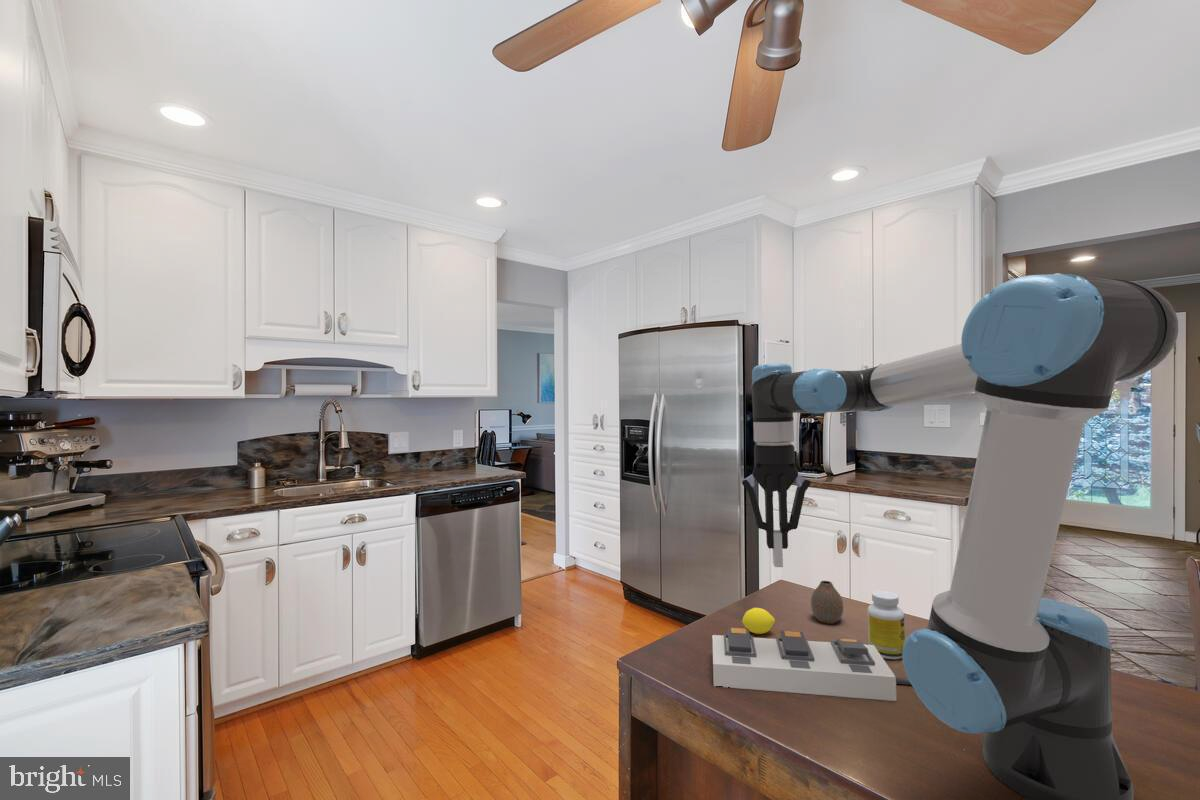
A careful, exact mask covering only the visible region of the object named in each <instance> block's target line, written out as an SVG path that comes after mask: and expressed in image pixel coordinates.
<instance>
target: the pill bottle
mask: <svg viewBox="0 0 1200 800" xmlns="http://www.w3.org/2000/svg"><path fill="white" fill-rule="evenodd" d="M871 600H872V602H873V603H872V604H870V605H869V606H868V607H867V634H868V636H867V637H868V640H867V641H868V644H867V645H874V646H875V648H876V649H877V651H878V652H879V653H880V655H881V656H882V658H883V659H887V660H900V659H903V658H902V650H903V645H904V642H905V640H906V639H905V637H906V636H905V614H904V611H903V610H902V608H901V607H899V606H898V605H899V595H898V594H896V593H894V592H891V591H886V590H874V591H872V592H871Z"/></svg>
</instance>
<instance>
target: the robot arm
mask: <svg viewBox="0 0 1200 800" xmlns="http://www.w3.org/2000/svg"><path fill="white" fill-rule="evenodd" d="M1178 335H1179V320H1178V316H1177V312H1176V311H1175V308H1174V307H1173V306H1172V304H1171V302H1170V301H1169V300H1168V299H1167V298H1166V297H1164V295H1162V294H1161V293H1160V292H1158V291H1157V290H1155V289H1154V288H1152V287H1150V286H1147V285H1145V284H1141V283H1139V282H1136V281H1130V280H1124V279H1109V278H1107V279H1106V278H1100V277H1092V276H1091V277H1090V276H1083V275H1078V274H1077V275H1076V274H1070V273H1069V274H1063V273H1058V272H1057V273H1053V274H1052V273H1051V274H1050V273H1048V274H1030V275H1024V276H1019V277H1014V278H1013V279H1010V280H1007V281H1005V282H1003V283H1001V284H999V285H997V286H996V287H995V288H993V289H992V290H991V291H989V292H988V293H986V294H985V295H984V296H983V297H981V298H980V299H979V301H978V302H977V303H976V304H975V305H974V306H973V308H972V309H971V311H970V313H969V314H968V315H967V318H966V320H965V322H964V325H963V328H962V333H961V343H959V344H956V345H952V346H947V347H945V348H941V349H937V350H933V351H929V352H926V353H922V354H918V355H915V356H911V357H907V358H904V359H900V360H899V359H898V360H895V361H892V362H889V363H884V364H881V365H879V366H873V367H869V368H866V369H860V370H833V369H831V368H829V369H828V368H819V369H818V368H813V369H812V368H811V369H809V370H803V371H794V372H793V370H792V369H793V368H792V366H791V365H790V364H788V363H767V364H759V365H756V366H754V367H753V368H752V371H751V374H752V375H751V380H752V381H751V386H750V388H751V400H752V401H751V402H752V403H751V404H752V419H753V420H752V421H753V423H752V424H753V426H752V427H753V442H755V443H756V444H755V445H754V446H753V454H754V455H753V456H754V459H753V461H754V465H753V466H754V467H753V468H752V471H751V474H750V475H749V476H747V477H746V478H742V479H741V484H742V485H743V487H744V488H745V490H746V491H747V495H748V500H749V503H750V506H751V509H752V513H753V516H754V517H753V518H754V521H755V524H756V526H757V528H758V529H760V530H764V531H765V533H766V534H765V535H766V546H767V549H772V564H773V566H774V568H784V558H783V555H784V554H783V549H786V550H787V549H788V547H789V536H788V533H789V532H790V531H792V530H797V529H798V527H799V524H800V523H799V522H800V521H799V520H800V518H801V512H802V508H803V503H804V499H805V494H806V491H808V488H809V487H810V485H811V481H810V480H809V479H808V478H807V477H806V478H805V477H802V476H801V475H799V471H798V469H797V467H796V455H795V451H796V449H795V445H794V444H792V443H793V442H794V441H795V429H794V427H795V426H794V425H795V424H794V413H797V414H799V413H800V414H816V415H817V414H827V413H845V412H872V413H873V412H881V411H885V410H886V411H887V410H891V409H892V408H893V407H895V406H901V405H906V404H912V403H918V402H924V401H929V400H930V401H931V400H937V399H943V398H948V397H949V398H950V397H954V396H960V395H966V394H972V393H974V394H975V395H976V396H977V397H978V398H979V399H980V400H981V402H982V403H983V404H984V405H985V407H986V411H985V417H984V422H983V426H982V432H981V437H980V441H979V445H978V451H977V456H976V460H975V461H976V462H975V466H974V471H973V475H972V480H971V484H970V485H971V487H970V491H969V495H968V501H967V505H966V506H967V507H966V511H965V515H964V520H963V525H962V530H961V535H960V540H959V545H958V550H957V554H956V558H955V559H956V561H955V565H954V570H953V574H952V579H951V585H950V589H949V590H946V591H944V592H939V593H938V594H936V595H935V597H934V598H933V601H932V604H931V609H930V614H929V618H928V619H929V620H928V623H927V627H926V628H919V629H916V630H914V631H913V632H912V633H911V634H909V635H908V636H907V637H906V639H905V642H904V645H903V650H902V658H901V659H902V664H903V669H904V671H905V675H906V678H908V680H909V682H910V683H911V684H912V685H911V686H912V687H913V690H914V692H915V695H916V696H917V697H918V699H919V700H920V701H921V703H923V705H924V706H925V707H926V708H927V710H929V712H931V714H932V715H934V716H935V717H936V718H937V719H938V720H940V722H942V723H943V724H944V725H947V726H948V727H950V728H952V729H954V730H956V731H959V732H960V733H965V734H971V735H978V734H984V736H983V739H982V749H983V751H982V752H983V753H982V754H983V755H982V756H983V757H982V758H983V762H985V764H986V766H987V768H988V770H990V772H991V773H992V774H993V776H995V777H996V778H997V779H998V780H999V781H1000V782H1002V783H1003V784H1004V785H1006V786H1007V787H1008V788H1010V789H1012V790H1013V791H1014V792H1016V793H1018V794H1020V795H1021V796H1023V797H1024V798H1026V799H1028V800H1134V799H1135V796H1134V794H1135V793H1134V786H1133V782H1132V779H1131V778H1130V774H1129V773H1128V770H1127V768H1126V764H1125V763H1124V761H1123V758H1122V755H1121V753H1120V751H1119V749H1118V745H1117V744H1116V741H1115V738H1114V737H1113V736H1114V735H1113V724H1112V723H1113V722H1112V721H1113V719H1112V717H1113V716H1112V715H1113V714H1112V712H1113V711H1112V709H1113V708H1112V704H1113V703H1112V667H1111V666H1112V665H1111V663H1112V662H1111V651H1113V649H1112V648H1113V647H1112V645H1111V644H1110V634H1109V627H1108V625H1107V624H1106V622H1105V621H1104V620H1103V619H1102V618H1101V617H1100V616H1098V615H1097V614H1096V613H1094V612H1091V611H1090V610H1087V609H1085V608H1081V607H1079V606H1076V605H1073V604H1070V603H1066V602H1062V601H1058V600H1056V599H1055V600H1054V599H1051V598H1046V597H1042V596H1043V594H1044V590H1045V586H1046V581H1047V577H1048V573H1049V570H1050V566H1051V561H1052V556H1053V553H1054V549H1055V544H1056V541H1057V537H1058V532H1059V529H1060V528H1059V527H1060V525H1061V520H1062V516H1063V512H1064V508H1065V504H1066V500H1067V496H1068V491H1069V487H1070V484H1071V479H1072V475H1073V471H1074V466H1075V463H1076V459H1077V455H1078V452H1079V446H1080V443H1081V438H1082V435H1083V432H1084V427H1085V423H1086V422H1088V421H1089V420H1090V419H1092V418H1094V417H1096V416H1098V415H1100V414H1102V413H1105V412H1106V411H1108V409H1109V407H1110V401H1111V399H1112V394H1113V391H1114V388H1115V383H1116V382H1117V383H1118V382H1123V381H1126V380H1127V381H1128V380H1130V379H1135V378H1136V377H1139V376H1141V375H1143V374H1146V373H1147V372H1149V371H1151V370H1152V369H1154V368H1156V367H1157V366H1158V365H1159V364H1160V363H1162V362H1163V360H1164V359H1166V357H1167V356H1168V355H1169V354H1170V352H1171V351H1172V349H1174V347H1175V344H1176V343H1177V339H1178ZM755 480H756V482H757V483H758V485H760V487H761V488H762V489H763V490H764V491H763V493H764V508H765V509H764V514H765V517H764V518H765V521H763V517H762V513H761V510H760V507H759V503H758V500H757V495H756V493H755V490H754V487H755V485H756V484H755ZM794 482H795V485H796V487H797V488H796V489H795V494H794V498H793V502H792V503H793V504H792V508H791V511H790V516H789V521H788V490H789V489H790V488H791V486H792V485H793V483H794ZM774 492H777V495H778V496H777V497H778V498H777V499H778V519H779V520H778V521H779V524H778V525H779V529H775V525H774V522H775V521H774Z"/></svg>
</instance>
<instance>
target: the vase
mask: <svg viewBox="0 0 1200 800" xmlns="http://www.w3.org/2000/svg"><path fill="white" fill-rule="evenodd" d="M810 608H811V612H812V615H813V616H814V617H815V618H816V620H818V621H819V622H821V623H823V624H829V625H830V624H832V625H833V624H836V623H837V622H839V621H840V620H841V619H842V616H843V614H844V602H843V598H842V596H841V594H840V593H839V592H838V590H837V589H836V588H835V587H834V585H833V583H832V581H829V580H821V581H820V583H819V584H818V585H817V587H816V588H815V589H814V591H813V592H812V594H811V598H810Z"/></svg>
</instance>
